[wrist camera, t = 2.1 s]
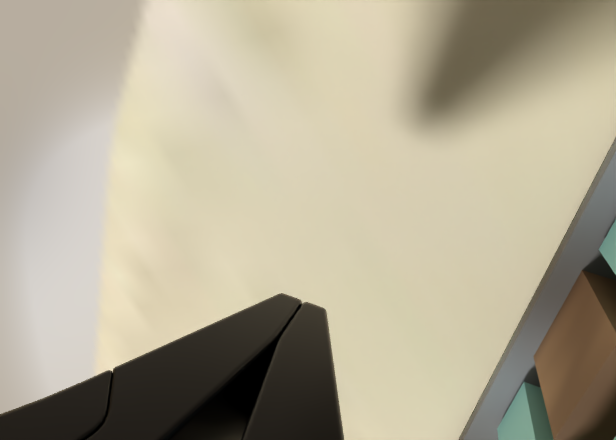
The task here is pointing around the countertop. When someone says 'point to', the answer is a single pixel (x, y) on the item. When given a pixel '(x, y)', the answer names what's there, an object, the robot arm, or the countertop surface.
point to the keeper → (529, 400)
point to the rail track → (566, 333)
